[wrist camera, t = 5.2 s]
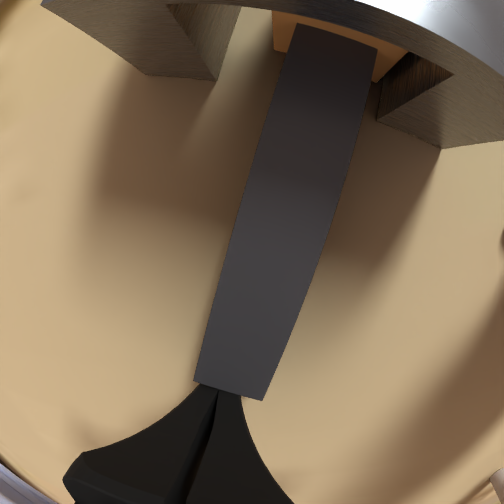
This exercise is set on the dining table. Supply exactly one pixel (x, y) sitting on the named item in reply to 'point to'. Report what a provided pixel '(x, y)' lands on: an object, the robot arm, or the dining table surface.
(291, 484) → the dining table surface
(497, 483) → the toy jack
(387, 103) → the housing
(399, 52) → the plug
